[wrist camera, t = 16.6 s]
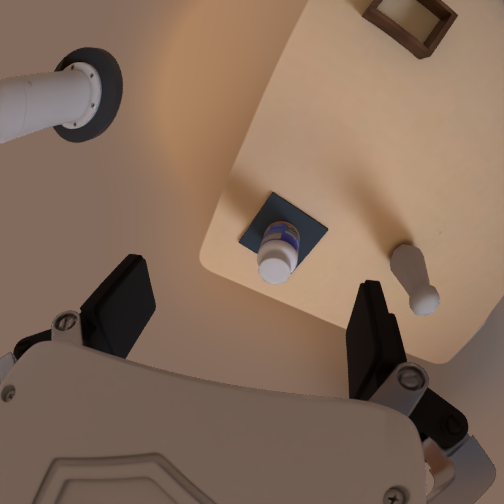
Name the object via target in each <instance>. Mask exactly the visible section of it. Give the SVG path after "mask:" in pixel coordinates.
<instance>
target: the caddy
mask: <svg viewBox="0 0 504 504" xmlns="http://www.w3.org/2000/svg"><path fill="white" fill-rule="evenodd" d="M417 1H418V2H420V3H421V4H422V5H424V6H425V7H426V8H427V9H428V10H430V11H431V12H432V13H433V14H434V15H436V16H437V17H438V18H439V19H440V21H439V22H438V24H437V25H436V27H435V28H434V30H433V31H432V32H431V34H430V35H429V37H428V38H427V40H426V41H425V42H424V44H422V43H421V42H420V41H419V40H417V39H416V38H415V37H414V36H412V35H411V34H410V33H409V32H407V31H406V30H405V29H404V28H402V27H401V26H400V25H398V24H397V23H396V22H394V21H393V20H392V19H390V18H389V17H387V16H386V15H385V14H383V13H382V12H380V11H379V10H377V9H376V8H377V7H378V6H379V4H380V3H381V2H382V0H374V1H373V2H372V4H371V5H370V6H369V8H368V9H367V10H366V12H365V13H364V15H363V16H362V17H364V18H365V19H367V20H368V21H370V22H371V23H373V24H374V25H375V26H377V27H378V28H380V29H381V30H383V31H384V32H385V33H387V34H388V35H389V36H391V37H392V38H393V39H395V40H396V41H397V42H399V43H400V44H401V45H402V46H404V47H405V48H406V49H407V50H409V51H410V52H411V53H412V54H413V55H415V56H416V57H417V58H418V59H423V58H427V57H430V56H431V55H432V53H433V52H434V50H435V49H436V48H437V46H438V45H439V43H440V42H441V40H442V39H443V37H444V36H445V34H446V33H447V31H448V30H449V28H450V27H451V25H452V24H453V22H454V21H455V19H456V18H457V16H458V15H457V14H456V13H455V12H454V11H453V10H452V9H451V8H450V7H448V6H447V5H446V4H445V3H444V2H443V1H441V0H417Z"/></svg>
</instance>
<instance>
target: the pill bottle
mask: <svg viewBox="0 0 504 504" xmlns="http://www.w3.org/2000/svg"><path fill="white" fill-rule="evenodd" d="M299 240H300V238H299V233H298V231H297V229H296V228H295V227H294V226H293V225H292V224H290V223H288V222H284V221H279V222H275V223H272V224H271V225H270V226H268V228H267V229H266V231H265V234H264V237H263V240H262V243H261V245H260V248H259V251H258V255H257V262H258V265H259V274H260V276H261V278H262V279H263V280H264V281H266V282H267V283H270V284H281V283H283V282H285V281H286V280H287V279H288V278H289V276H290V273H292V272H293V271H294V269H295V268H296V265H297V260H298V250H299Z"/></svg>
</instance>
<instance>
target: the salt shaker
mask: <svg viewBox="0 0 504 504" xmlns="http://www.w3.org/2000/svg"><path fill="white" fill-rule="evenodd" d="M390 266H391V271H392V272H393V274H394V275H395V276H396V278H397V279H398V280H399V282H400V283H401V285H402V286H403V287H404V289H405V290H406V292H407V293H408V294H409V296H410V297H409V305H410V308H411V309H412V311H413V312H414V314H416V315H418V316H426V315H429V314H431V313H432V312H433V311H435V310H436V308H437V307H438V305H439V302H440V297H439V294H438V292H437V290H436V288H435V287H434V286H432V285H430V283H429V278H428V273H427V269H426V264H425V260H424V256H423V254H422V252H421V251H420V249H418V248H417V247H415V246H412V245H405V244H401V245H400V246H399V247H397V248H396V249H394V250H393V255H392V258H391V260H390Z"/></svg>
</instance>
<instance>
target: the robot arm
mask: <svg viewBox="0 0 504 504" xmlns="http://www.w3.org/2000/svg"><path fill="white" fill-rule="evenodd" d="M101 93H102V85H101V79H100V76H99V74H98V72H97V70H96V69H95V68H94V67H93V66H92V65H91V64H89V63H85V62H77V63H73V64H71V65H69V66H68V67H66V68H65V69H64V70H63V71H58V72H48V73H47V72H46V73H37V74H29V75H22V76H15V77H9V78H5V79H2V80H0V144H2V143H4V142H7V141H9V140H12V139H15V138H18V137H21V136H24V135H26V134H29V133H32V132H36V131H39V130H42V129H45V128H48V127H52V126H55V125H59V124H61V125H63V126H64V127H66V128H69V129H75V128H79V127H82V126H84V125H86V124H87V123H88V122H89V121H90V120H91V119H92V118H93V117H94V115H95V113H96V112H97V109H98V107H99V104H100V100H101ZM155 308H156V303H155V299H154V295H153V291H152V287H151V283H150V278H149V273H148V269H147V264H146V260H145V259H143V257H142V256H141V255H136V254H129V255H128V256H127V257H126V258H125V259H124V260H123V261H122V262H121V263H120V264H119V265H118V266H117V267H116V268H115V269H114V271H113V272H112V273H111V274H110V275H109V276H108V277H107V278H106V279H105V280H104V281H103V282H102V283H101V285H100V286H99V287H98V288H97V289H96V290H95V291H94V292H93V293H92V295H91V296H90V297H89V298H88V299H87V300H86V302H85V303H84V304H83V305H82V306H81V307H80V309H81V313H80V314H78V313H77V312H75V311H65V312H62V313H60V314H59V315H57V316H56V317H55V319H54V320H53V322H52V329H49V330H46V331H44V332H41V333H38V334H35V335H32V336H29V337H26V338H24V339H22V340H20V341H19V342H18V343H17V344H16V346H15V348H14V353H13V354H12V353H11V352H10V353H8V354H6V355H5V356H3V357H2V358H0V504H474V503H475V502H476V501H477V500H478V499H479V498H480V497H481V496H482V495H483V494H484V493H485V492H486V491H487V489H488V488H489V487H490V486H491V485H492V483H493V482H494V480H495V477H496V469H495V466H494V464H493V463H492V461H491V460H490V458H489V457H488V456H487V454H486V453H485V451H484V450H483V448H482V447H481V446H480V444H479V443H478V441H477V440H476V439H475V437H474V436H473V435H472V436H471V437H470V436H469V434H468V433H467V432H468V422H467V419H466V417H465V416H464V415H463V414H462V413H461V412H460V411H459V410H458V409H456V408H455V407H454V406H452V405H451V404H449V403H448V402H447V401H445V400H444V399H443V398H441V397H440V396H439V395H437V394H436V393H435V392H433V391H432V390H431V389H429V388H428V384H429V377H428V374H427V372H426V371H425V370H424V368H422V367H421V366H420V365H418V364H416V363H412V362H407V359H406V355H405V350H404V346H403V342H402V339H401V335H400V331H399V327H398V324H397V320H396V317H395V315H394V314H393V313H389V312H388V308H387V305H386V301H385V298H384V294H383V291H382V288H381V284H380V282H379V281H373V280H366V281H365V283H361V284H360V287H359V290H358V294H357V297H356V301H355V304H354V308H353V311H352V314H351V317H350V321H349V324H348V327H347V330H346V346H347V361H348V379H349V399H348V398H337V397H326V396H314V395H304V394H295V393H286V392H278V391H270V390H263V389H256V388H249V387H243V386H237V385H231V384H226V383H220V382H215V381H210V380H205V379H200V378H196V377H191V376H186V375H183V374H178V373H174V372H170V371H166V370H162V369H158V368H155V367H151V366H147V365H144V364H140V363H137V362H133V361H129V360H126V357H127V355H128V354H129V352H130V350H131V349H132V347H133V345H134V344H135V342H136V340H137V339H138V337H139V336H140V334H141V332H142V331H143V329H144V327H145V326H146V324H147V323H148V321H149V319H150V318H151V316H152V314H153V313H154V311H155ZM425 462H427V463H428V465H429V466H430V468H431V469H430V470H429V471H430V472H431V474H432V476H433V478H434V487H433V489H432V491H431V492H430V493H429V494H428V495H427V496H426V471H425ZM388 489H389V490H388Z"/></svg>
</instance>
